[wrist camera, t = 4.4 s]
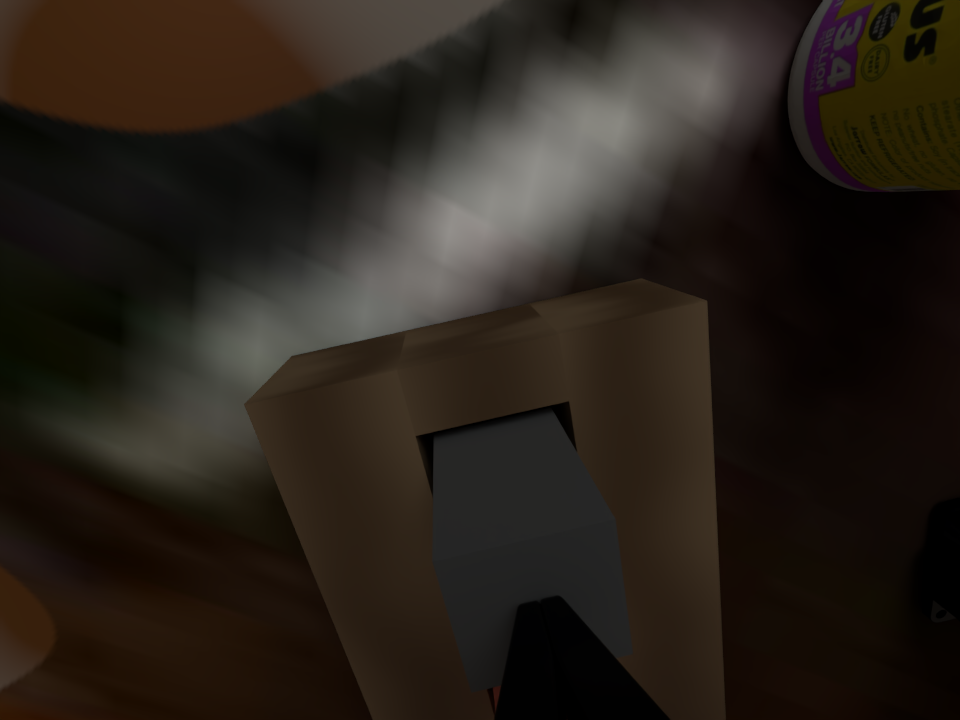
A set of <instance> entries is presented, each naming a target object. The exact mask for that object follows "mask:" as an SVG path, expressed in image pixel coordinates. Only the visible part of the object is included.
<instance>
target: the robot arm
mask: <svg viewBox="0 0 960 720" xmlns="http://www.w3.org/2000/svg"><path fill="white" fill-rule="evenodd" d="M922 613H923V614H924V615H925V616H927V617H928V618H929V619H930V620H931V621H933V622H935V623H938V622H943V621H948V620H952V619H956V618H957V619H958V620H959V621H960V498H957V499H953V500H949V501H946V502H944V503H942V504H941V505H940V506H939V507H938V509H937V511H936V515H935V522H934V529H933V536H932V543H931V550H930V557H929V564H928V571H927V578H926V585H925V592H924V599H923V606H922ZM494 720H671V719H670V718H669V717H668V716H667V715H666V714H665V713H664V712H663V710H662V709H661V708H660V707H659V706H658V705H657V704H656V703H655V701H654V700H653V699H652V698H651V697H650V696H649V695H648V693H647V692H646V691H645V690H644V689H643V688H642V687H641V686H640V684H639V683H638V682H637V681H636V680H635V679H634V678H633V676H632V675H631V674H630V673H629V672H628V671H627V670H626V669H625V667H624V666H623V665H622V664H621V663H620V662H619V661H618V660H617V658H616V657H615V656H614V655H613V654H612V653H611V652H610V650H609V649H608V648H607V647H606V646H605V645H604V644H603V643H602V641H601V640H600V639H599V638H598V637H597V636H596V635H595V634H594V632H593V631H592V630H591V629H590V628H589V627H588V626H587V624H586V623H585V622H584V621H583V620H582V619H581V618H580V617H579V615H578V614H577V613H576V612H575V611H574V610H573V609H572V607H571V606H570V605H569V604H568V603H567V602H566V601H565V600H564V598H562V597H561V596H559V595H556V596H552V597H547V598H543V599H542V600H541V601H540V603H539V602H538V601H537V600H535V601H530V602H526V603H522V604H520V605H519V606H518V608H517V611H516V616H515V621H514V626H513V630H512V635H511V640H510V645H509V649H508V654H507V659H506V664H505V669H504V673H503V678H502V683H501V688H500V692H499V697H498V702H497V707H496V712H495V716H494Z"/></svg>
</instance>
